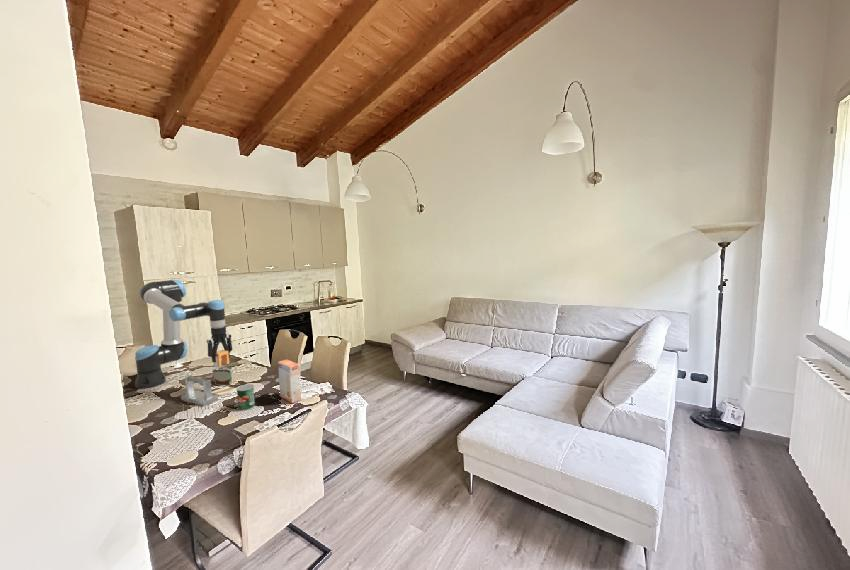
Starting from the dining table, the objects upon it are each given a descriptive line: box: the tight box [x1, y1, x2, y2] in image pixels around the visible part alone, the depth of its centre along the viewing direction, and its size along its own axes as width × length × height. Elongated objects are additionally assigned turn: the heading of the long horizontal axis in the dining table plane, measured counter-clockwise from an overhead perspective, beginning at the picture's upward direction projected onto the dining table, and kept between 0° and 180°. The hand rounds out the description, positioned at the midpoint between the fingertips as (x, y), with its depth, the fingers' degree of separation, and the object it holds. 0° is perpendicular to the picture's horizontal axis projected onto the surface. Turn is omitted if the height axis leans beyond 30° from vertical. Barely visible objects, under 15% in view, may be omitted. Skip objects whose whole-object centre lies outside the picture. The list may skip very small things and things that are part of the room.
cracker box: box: [277, 359, 302, 404], centre depth 192 cm, size 14×6×21 cm, turn 48°
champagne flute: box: [171, 360, 184, 369], centre depth 246 cm, size 7×7×24 cm
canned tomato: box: [236, 384, 256, 412], centre depth 183 cm, size 8×8×11 cm
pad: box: [212, 385, 237, 397], centre depth 204 cm, size 10×10×1 cm
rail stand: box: [180, 375, 219, 407], centre depth 192 cm, size 20×8×12 cm, turn 65°
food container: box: [211, 365, 234, 386], centre depth 216 cm, size 12×6×10 cm, turn 84°
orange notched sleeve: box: [216, 349, 230, 367], centre depth 201 cm, size 5×6×8 cm
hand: (221, 365), depth 202 cm, fingers closed on orange notched sleeve, 6 cm apart
